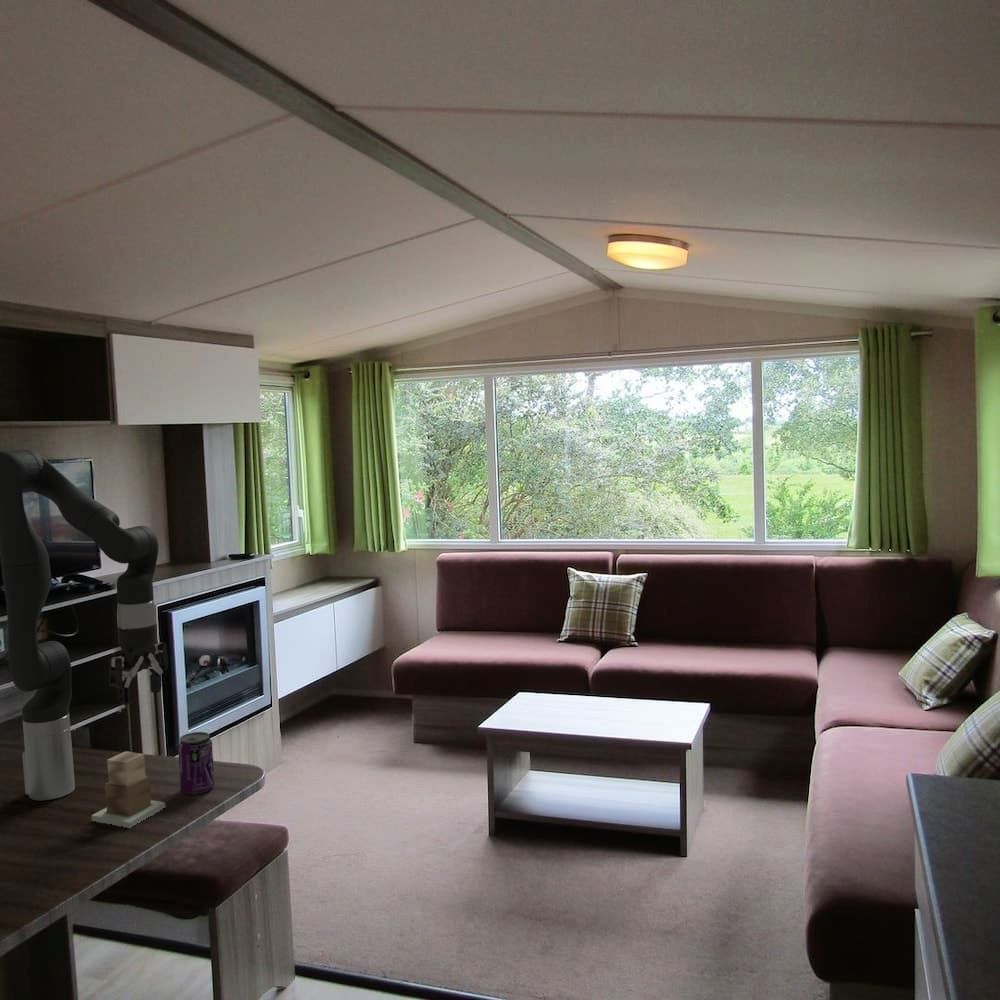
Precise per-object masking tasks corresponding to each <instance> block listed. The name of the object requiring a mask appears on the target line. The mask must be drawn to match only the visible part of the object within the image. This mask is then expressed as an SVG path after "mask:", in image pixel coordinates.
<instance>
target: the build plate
mask: <svg viewBox="0 0 1000 1000" xmlns="http://www.w3.org/2000/svg"><path fill="white" fill-rule="evenodd" d="M163 808H165V809H166V801H165V802H163V801H158V800H152V799H151V805H149V806H148V807H146V808H144V809H142V810H140V811H138V812H137V813H135V814H133V815H131V816H124V815H119V814H114V813H109V812H107V807H105V808H103V809H101V810H99V811H97V812H95V813H94V814H91V821H92V822H95V821H96V823H99V824H105V823H106V825H110V824H112V826H115V825H116V826H117V827H121V826H123V827H122V828H126V827H127V829H131V828H133V827H135V826H136V825H138V824H139V823H142V822H144V821H146V820H147V819H149V818H150V816H151V817H152V816H154V815H156V814H157V812H158V813H160V812H161V811H163V810H164V809H163ZM162 809H163V810H162ZM160 810H161V811H160ZM155 813H156V814H155ZM148 817H149V818H148ZM146 818H147V819H146ZM143 820H144V821H143ZM141 821H142V822H141ZM137 823H138V824H137ZM134 825H135V826H134ZM132 826H133V827H132Z"/></svg>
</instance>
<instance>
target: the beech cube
mask: <svg viewBox="0 0 1000 1000" xmlns="http://www.w3.org/2000/svg"><path fill="white" fill-rule="evenodd" d="M106 761H107V762H106V763H107V774H108V782H109V784H115V785H121V786H127V787H128V786H130V785H132V784H134V783H136V782H138V781H140V780H142V779H144V778H146V776H147V774H146V763H145V762H146V761H145V753H138V752H134V751H133V752H132V751H123V752H121V753H119V754H117V755H115V756H111V757H110V758H108V759H107V760H106Z"/></svg>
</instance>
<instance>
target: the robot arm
mask: <svg viewBox="0 0 1000 1000" xmlns="http://www.w3.org/2000/svg"><path fill="white" fill-rule="evenodd" d="M31 492H33V493H36V494H38V495H40V496H42V497H45V498H47V499H48V500H50V501H51V502H53V504H55V505H56V506H57V507H56V508H58V511H59V512H60V514H61V516H62V517H63V519H64V520H65V521H66V522H67V523H68V524H69V525H70V526H72V527H73V528H74V529H76V530H77V531H79V532H81V533H82V534H84V535H85V536H87V537H88V538H90V539H91V540H93V542H94V543H95V544H96V546H97V547H98V548H99V549H100V550H101V551H102V553H104V554H105V556H106V557H108V558H109V559H110V560H112V561H113V562H116V563H119V564H125V565H126V564H127V568H126V570H125V572H123V573H121V574H120V575H119V576H118V578H117V579H116V596H117V597H116V599H117V609H116V610H117V611H116V618H117V619H116V620H117V622H116V623H117V639H118V646H119V647H120V649H121V654H120V656H110V657H109V658H108V685H109V686H110V687H115V688H117V692H118V702H119V704H121V705H123V706H128V705H131V703H132V701H131V699H132V698H131V686H130V684H131V682H132V680H133V679H134V678H135V677H136V675H137V673H141V672H142V671H143V670H147V671H148V672H149V673H150V674H149V684H150V692H151V693H155V694H157V693H161V691H162V674H163V673H164V671H165V670H166V671H167V670H168V669H169V668H170V667H169V666H170V665H169V656H168V648H167V647H168V646H167V642H161V641H158V636H157V635H158V633H157V616H156V614H157V613H156V612H157V611H156V607H155V602H154V601H155V600H154V584H153V583H154V582H153V581H154V575H155V572H156V566H157V561H158V557H159V541H158V536H157V535H156V533H155V532H154V530H153V529H152V528H150V527H149V526H146V525H138V526H133V527H127V528H123V527H121V526H120V523H121V522H120V517H119V516H118V514H116V513H115V512H114V511H113V510H112V509H110V508H108V507H107V506H105V505H104V504H102V503H101V502H99V501H98V500H96V499H94V498H92V497H91V496H90V495H88V494H87V493H86V492H84V491H83V490H81V489H80V488H78V487H77V486H76V485H75V484H74V483H73V482H71V481H70V480H69V479H68V478H67V477H66V476H65V475H64V474H62V472H60V471H59V470H58V469H57V468H56V467H55V466H54V465H53V464H52V463H51V462H50V461H48V460H47V459H46V458H45V457H44V456H43V455H41V454H40V453H38V452H36V451H34V450H31V449H17V450H15V449H14V450H2V451H1V450H0V566H1V574H2V575H1V577H2V582H3V583H2V584H3V589H4V595H5V604H6V615H7V637H8V638H7V640H8V641H7V643H8V644H7V645H8V647H7V648H8V649H7V651H8V653H7V655H8V670H9V673H10V674H9V675H10V678H11V681H12V683H13V684H14V686H15V687H16V688H17V689H18V690H20V691H21V692H25V693H27V692H28V693H29V692H32V691H35V694H34V695H33V696H32V697H31V698H30V699H29V700H28V701H27V702H26V703H25V704H24V705H23V707H22V708H21V716H22V717H21V718H22V727H23V728H22V730H23V740H24V741H23V743H24V751H23V752H22V767H23V768H22V769H23V779H24V780H23V781H24V791H25V795H26V796H28V798H29V799H31V800H34V801H50V800H55V799H60V798H62V797H65V796H66V795H69V794H71V793H73V792H74V790H75V789H76V784H75V771H74V759H73V758H74V757H73V746H72V731H71V720H70V719H71V718H70V705H71V701H72V694H73V693H72V663H71V658H70V655H69V651H68V650H67V648H66V647H65V646H64V645H63V644H62V643H61V642H59V641H55V640H49V641H44V642H42V643H41V642H39V643H38V624H39V619H40V616H41V613H42V610H43V608H44V606H45V603H46V601H47V598H48V595H49V592H50V589H51V584H52V575H51V573H52V572H51V565H50V556H49V552H48V550H47V548H46V545H45V544H44V542H43V541H42V539H41V538H40V536H39V534H37V532H36V531H35V530H34V528H33V526H32V525H31V524H30V521H29V520H28V518H27V514H26V512H25V511H26V510H25V504H24V498H23V494H26V493H31ZM127 670H128V671H127Z"/></svg>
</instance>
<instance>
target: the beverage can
mask: <svg viewBox="0 0 1000 1000" xmlns="http://www.w3.org/2000/svg"><path fill="white" fill-rule="evenodd" d="M177 751H178V752H177V753H178V765H179V767H178V768H179V782H180V783H179V784H180V790H181V791H182V792H183V793H187V794H188V793H189V795H199V794H198V793H200V794H204V793H206V792H208V791H209V790H211V789H212V788H214V787H215V783H216V782H215V771H214V770H215V769H214V766H215V765H214V755H213V754H214V753H213V741H212V740H211V738H210V734H209V733H208V732H205V731H204V732H203V731H195V732H194V731H193V732H189V733H185V734H184V735H182V736H180V737H179V743H178V746H177ZM203 792H204V793H203Z"/></svg>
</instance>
